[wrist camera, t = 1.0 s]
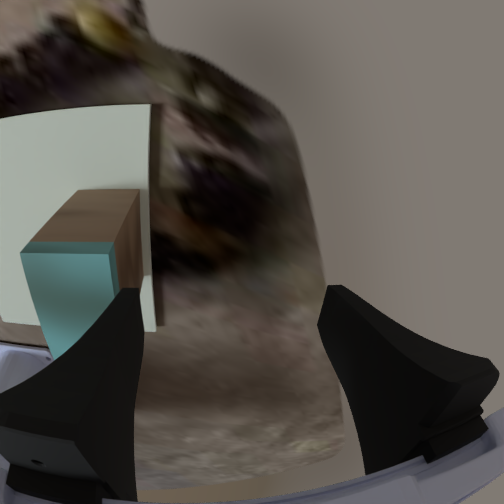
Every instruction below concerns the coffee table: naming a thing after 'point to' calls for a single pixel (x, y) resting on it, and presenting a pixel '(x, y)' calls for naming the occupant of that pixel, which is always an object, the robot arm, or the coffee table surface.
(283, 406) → the coffee table surface
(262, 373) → the coffee table surface
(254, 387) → the coffee table surface
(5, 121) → the sage mat
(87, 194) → the walnut block
